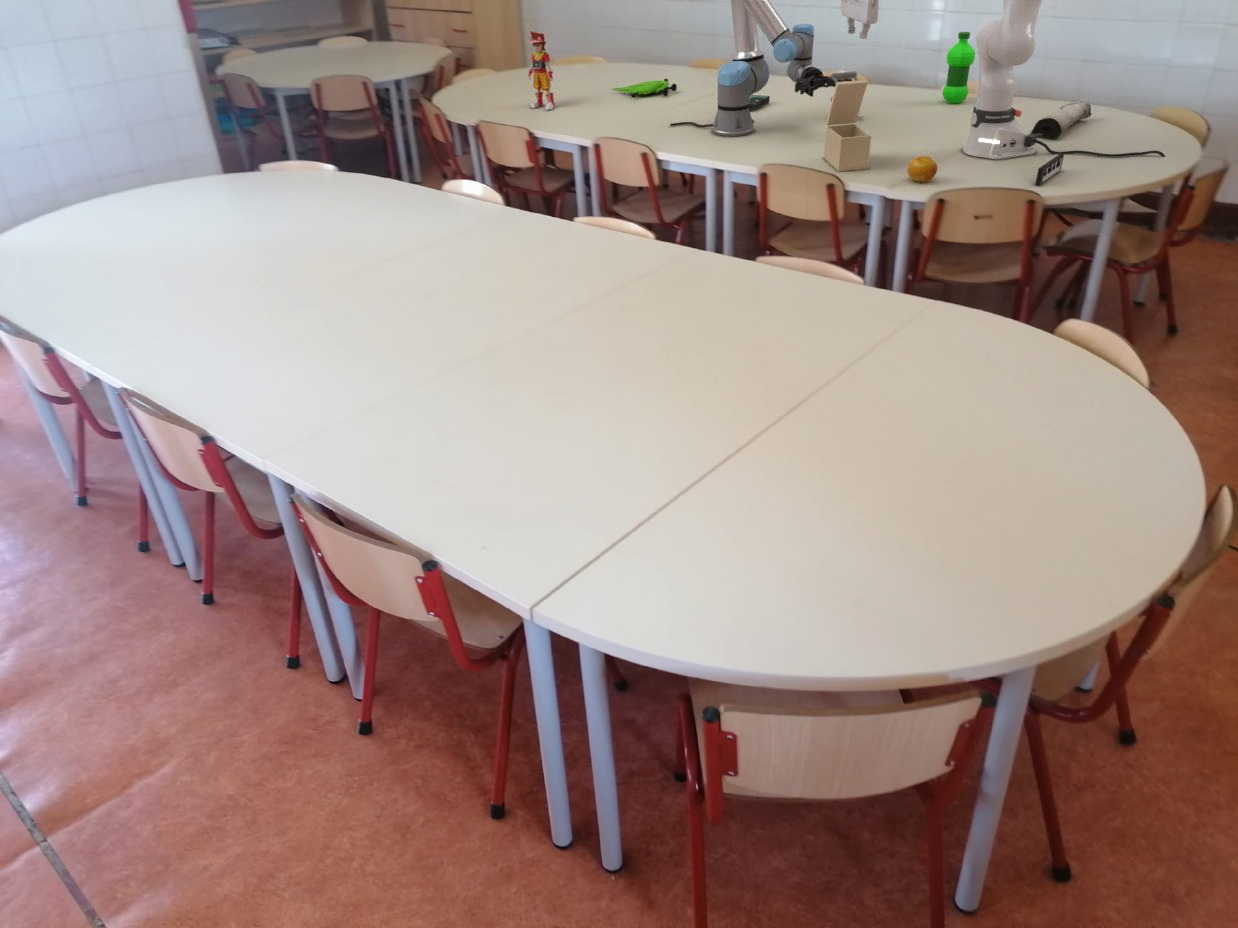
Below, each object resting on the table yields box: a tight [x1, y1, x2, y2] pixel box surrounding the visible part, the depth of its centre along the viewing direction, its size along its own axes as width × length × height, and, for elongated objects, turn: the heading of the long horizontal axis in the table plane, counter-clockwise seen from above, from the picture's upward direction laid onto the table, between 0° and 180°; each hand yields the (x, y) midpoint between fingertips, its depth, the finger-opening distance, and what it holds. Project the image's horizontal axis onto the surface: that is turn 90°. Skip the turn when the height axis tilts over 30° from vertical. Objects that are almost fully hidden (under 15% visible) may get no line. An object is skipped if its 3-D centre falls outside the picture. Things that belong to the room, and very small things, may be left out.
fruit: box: [907, 155, 938, 183], centre depth 277 cm, size 8×8×8 cm
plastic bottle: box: [942, 31, 976, 104], centre depth 348 cm, size 10×10×25 cm
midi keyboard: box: [1035, 154, 1065, 186], centre depth 273 cm, size 18×1×5 cm, turn 138°
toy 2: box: [612, 78, 677, 99], centre depth 396 cm, size 28×5×30 cm
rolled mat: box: [1029, 101, 1092, 140], centre depth 316 cm, size 30×9×10 cm
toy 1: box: [527, 31, 556, 111], centre depth 374 cm, size 12×9×30 cm
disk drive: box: [749, 94, 771, 111], centre depth 365 cm, size 10×3×15 cm
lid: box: [825, 71, 869, 126], centre depth 292 cm, size 16×10×9 cm
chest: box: [823, 123, 872, 172], centre depth 294 cm, size 15×10×10 cm, turn 7°
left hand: (831, 90), depth 300 cm, fingers open, 13 cm apart
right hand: (857, 36), depth 275 cm, fingers open, 8 cm apart
